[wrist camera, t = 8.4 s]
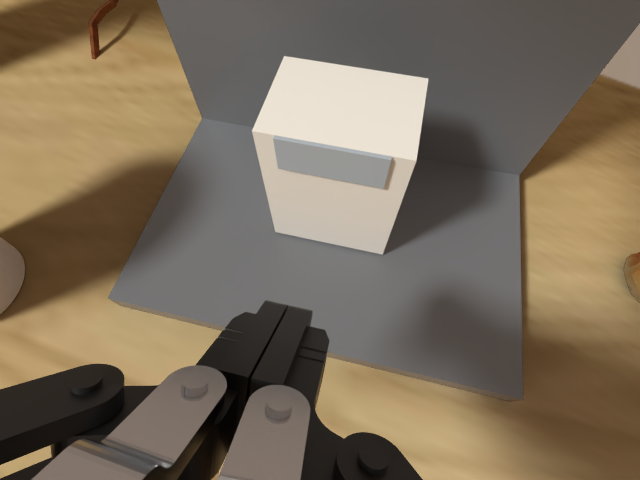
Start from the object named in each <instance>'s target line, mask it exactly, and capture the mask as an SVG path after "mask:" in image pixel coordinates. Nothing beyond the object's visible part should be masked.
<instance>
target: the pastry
mask: <svg viewBox="0 0 640 480" xmlns="http://www.w3.org/2000/svg"><path fill="white" fill-rule="evenodd" d="M624 273H625V278H626V281H627V284H628V287H629V290H630V292H631V294H632V295H633V296H634V297H635V298H636V299H637V301H638V302H639V303H640V252H639V253H637V254H632V255H630V256H629V257H628V258H627V259H626V263H625V267H624Z"/></svg>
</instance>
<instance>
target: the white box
mask: <svg viewBox="0 0 640 480" xmlns="http://www.w3.org/2000/svg"><path fill="white" fill-rule="evenodd" d="M427 86H428V78H422V77H415V76H409V75H403V74H396V73H390V72H383V71H377V70H371V69H364V68H358V67H351V66H345V65H339V64H332V63H326V62H319V61H313V60H307V59H300V58H294V57H287V56H284V58H283V60H282V62H281V64H280V67H279V69H278V71H277V74H276V76H275V78H274V81H273V83H272V85H271V88H270V90H269V92H268V95H267V97H266V99H265V102H264V104H263V106H262V109H261V111H260V113H259V116H258V118H257V120H256V123H255V125H254V127H253V130H252V134H253V138H254V142H255V147H256V151H257V155H258V160H259V164H260V168H261V172H262V177H263V181H264V185H265V190H266V194H267V198H268V203H269V207H270V211H271V215H272V220H273V224H274V228H275V232H278V233H283V234H287V235H292V236H297V237H302V238H306V239H311V240H316V241H321V242H325V243H330V244H335V245H340V246H344V247H349V248H354V249H359V250H363V251H368V252H373V253H378V254H382V255H383V252H384V249H385V247H386V244H387V241H388V238H389V236H390V233H391V230H392V227H393V225H394V222H395V219H396V216H397V213H398V211H399V208H400V205H401V202H402V200H403V197H404V194H405V191H406V188H407V186H408V183H409V180H410V177H411V175H412V172H413V169H414V166H415V164H416V161H417V154H418V147H419V140H420V133H421V127H422V120H423V113H424V106H425V99H426V92H427Z"/></svg>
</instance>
